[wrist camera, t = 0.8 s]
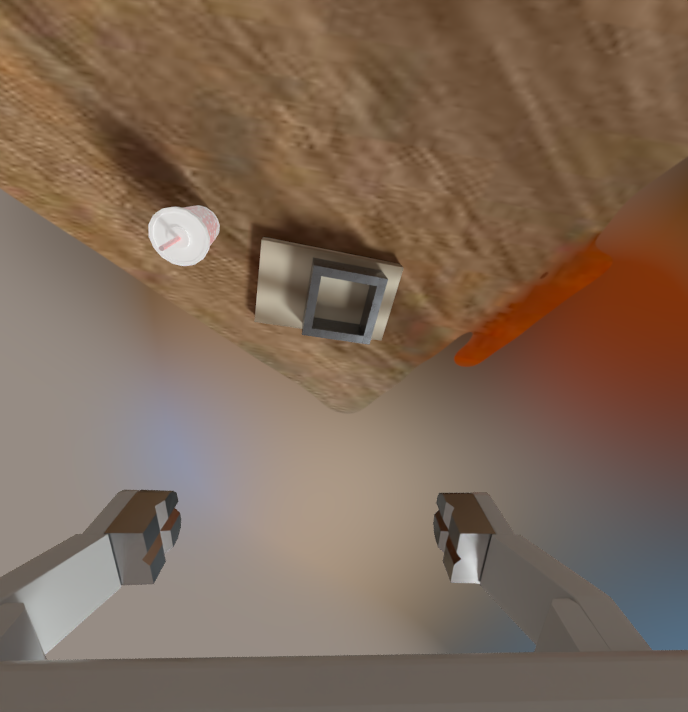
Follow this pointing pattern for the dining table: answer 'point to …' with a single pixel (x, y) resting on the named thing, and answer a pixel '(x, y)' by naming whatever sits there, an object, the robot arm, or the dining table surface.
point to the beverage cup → (183, 233)
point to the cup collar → (338, 328)
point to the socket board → (335, 297)
